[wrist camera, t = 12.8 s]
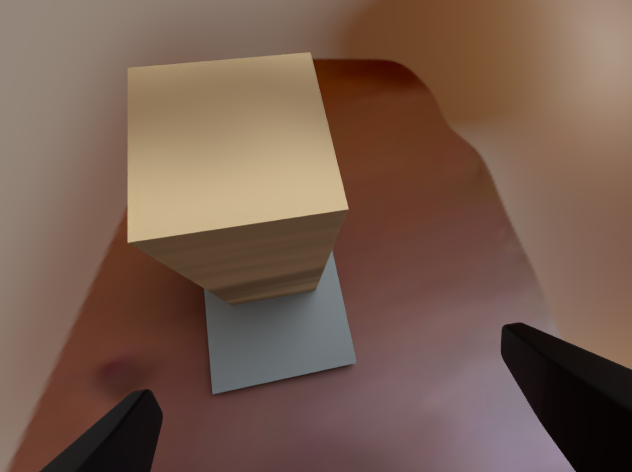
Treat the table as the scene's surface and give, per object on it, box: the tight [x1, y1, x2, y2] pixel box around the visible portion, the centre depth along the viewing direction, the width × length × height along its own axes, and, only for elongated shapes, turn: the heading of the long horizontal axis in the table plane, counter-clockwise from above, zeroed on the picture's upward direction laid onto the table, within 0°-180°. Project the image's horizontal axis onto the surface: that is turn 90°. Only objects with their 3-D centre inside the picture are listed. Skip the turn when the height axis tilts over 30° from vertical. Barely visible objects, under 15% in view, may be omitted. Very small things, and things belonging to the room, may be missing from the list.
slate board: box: [204, 251, 357, 394], centre depth 20 cm, size 14×8×1 cm, turn 11°
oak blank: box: [128, 52, 348, 305], centre depth 14 cm, size 5×5×12 cm
